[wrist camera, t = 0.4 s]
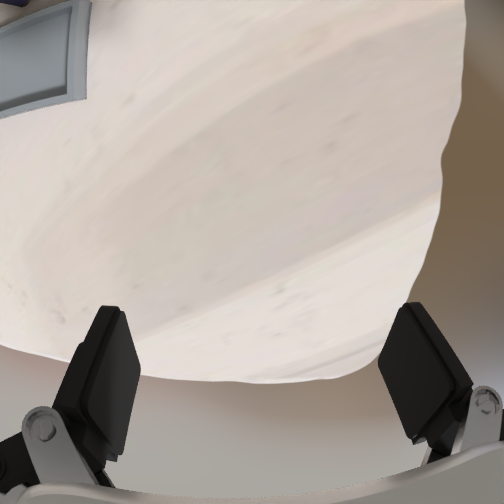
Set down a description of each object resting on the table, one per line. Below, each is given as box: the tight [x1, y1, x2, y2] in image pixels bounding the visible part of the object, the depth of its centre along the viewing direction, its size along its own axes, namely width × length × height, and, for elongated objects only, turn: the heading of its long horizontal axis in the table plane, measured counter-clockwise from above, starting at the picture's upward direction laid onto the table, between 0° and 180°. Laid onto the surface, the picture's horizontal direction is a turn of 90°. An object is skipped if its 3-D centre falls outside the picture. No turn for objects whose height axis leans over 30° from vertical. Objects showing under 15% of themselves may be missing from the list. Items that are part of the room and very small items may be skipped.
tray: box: [0, 0, 92, 119], centre depth 25 cm, size 14×22×4 cm, turn 87°
